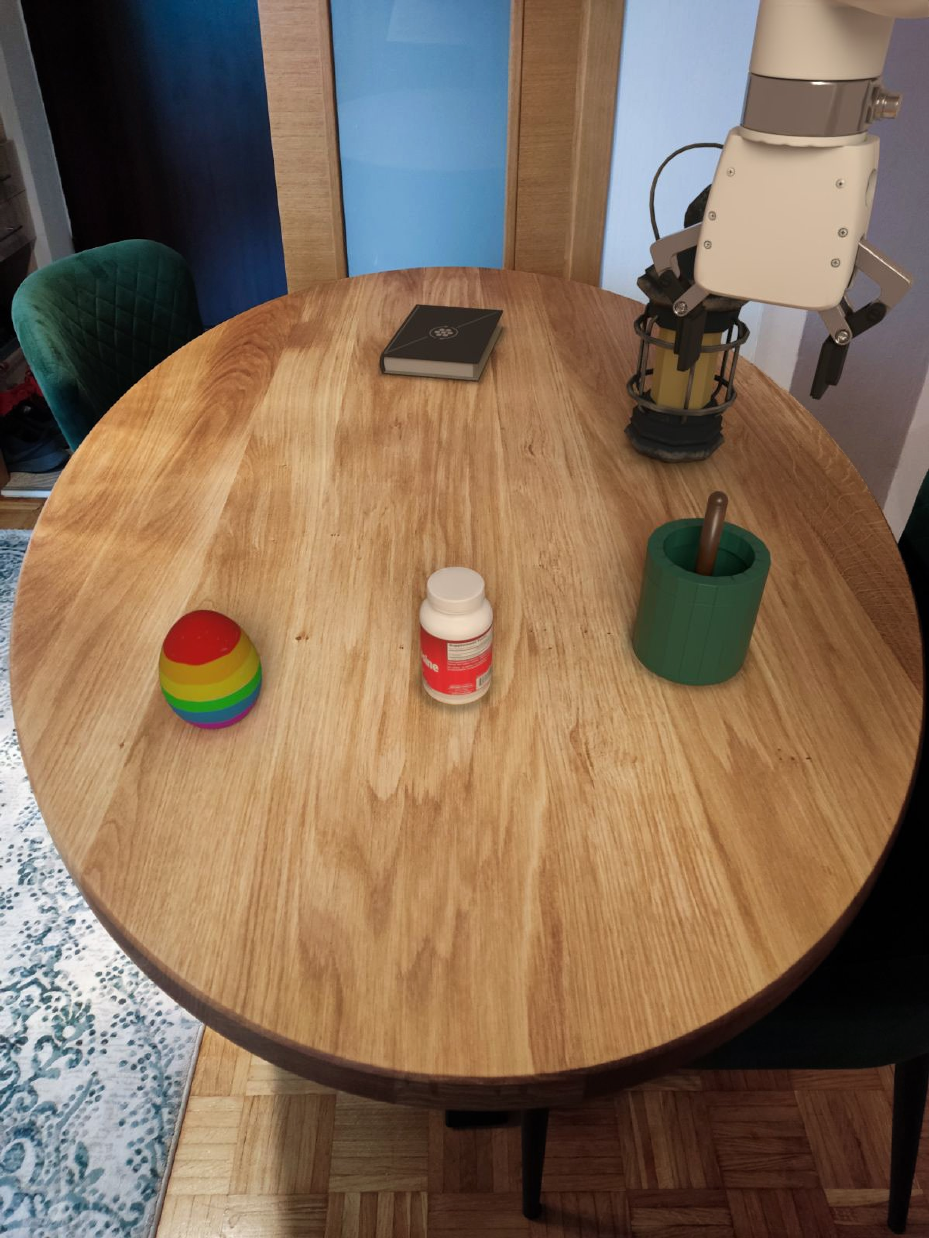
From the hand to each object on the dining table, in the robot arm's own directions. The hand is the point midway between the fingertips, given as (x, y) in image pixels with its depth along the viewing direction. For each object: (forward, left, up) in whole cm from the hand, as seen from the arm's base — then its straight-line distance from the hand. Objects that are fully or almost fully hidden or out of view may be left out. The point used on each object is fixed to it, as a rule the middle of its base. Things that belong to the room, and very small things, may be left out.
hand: (751, 378), depth 64 cm
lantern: (+16, -37, -27) cm, 48 cm away
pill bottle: (+17, +14, -27) cm, 35 cm away
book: (+58, -50, -27) cm, 81 cm away
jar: (+1, -1, -27) cm, 27 cm away
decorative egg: (+33, +27, -27) cm, 50 cm away
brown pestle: (+1, -1, -26) cm, 26 cm away
